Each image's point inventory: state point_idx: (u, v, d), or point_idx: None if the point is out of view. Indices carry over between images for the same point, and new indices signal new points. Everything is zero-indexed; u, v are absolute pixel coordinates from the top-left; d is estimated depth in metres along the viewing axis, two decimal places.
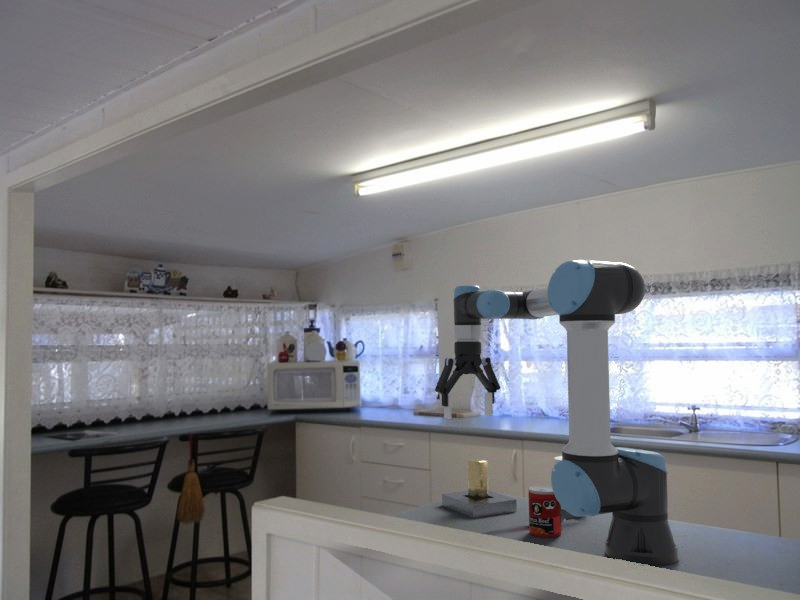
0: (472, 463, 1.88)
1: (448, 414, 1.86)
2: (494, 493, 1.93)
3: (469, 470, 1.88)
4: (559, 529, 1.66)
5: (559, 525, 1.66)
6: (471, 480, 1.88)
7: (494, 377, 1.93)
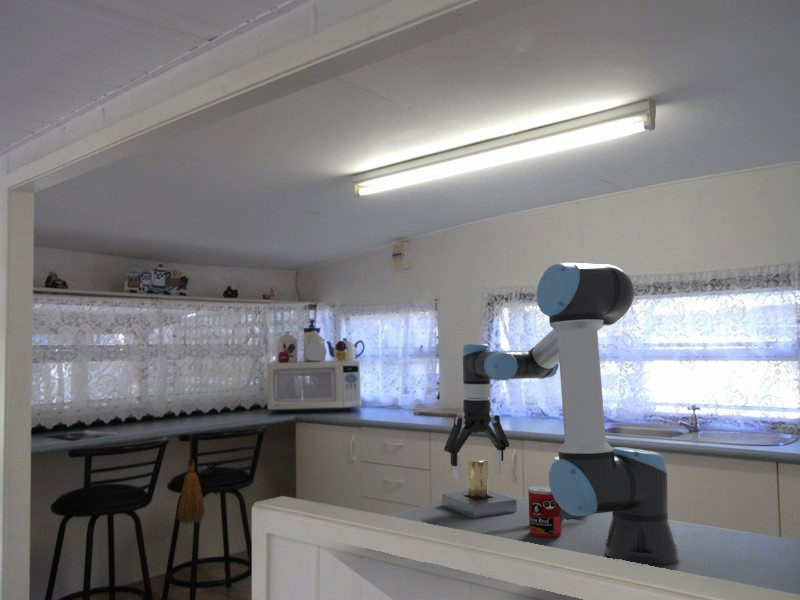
0: (472, 463, 1.88)
1: (457, 474, 1.86)
2: (494, 493, 1.93)
3: (469, 470, 1.88)
4: (559, 529, 1.66)
5: (559, 525, 1.66)
6: (471, 480, 1.88)
7: (503, 434, 1.93)
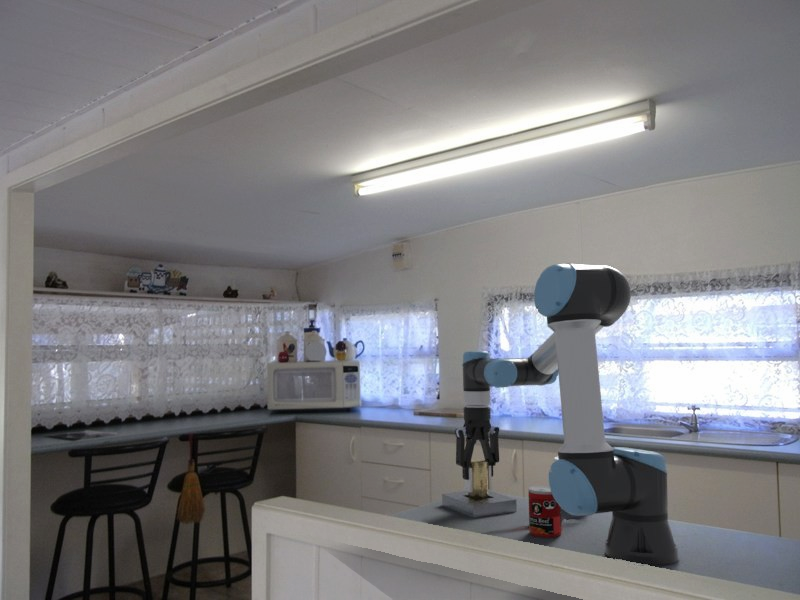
0: (472, 463, 1.88)
1: (469, 487, 1.87)
2: (494, 493, 1.93)
3: None
4: (559, 529, 1.66)
5: (559, 525, 1.66)
6: None
7: (497, 448, 1.92)
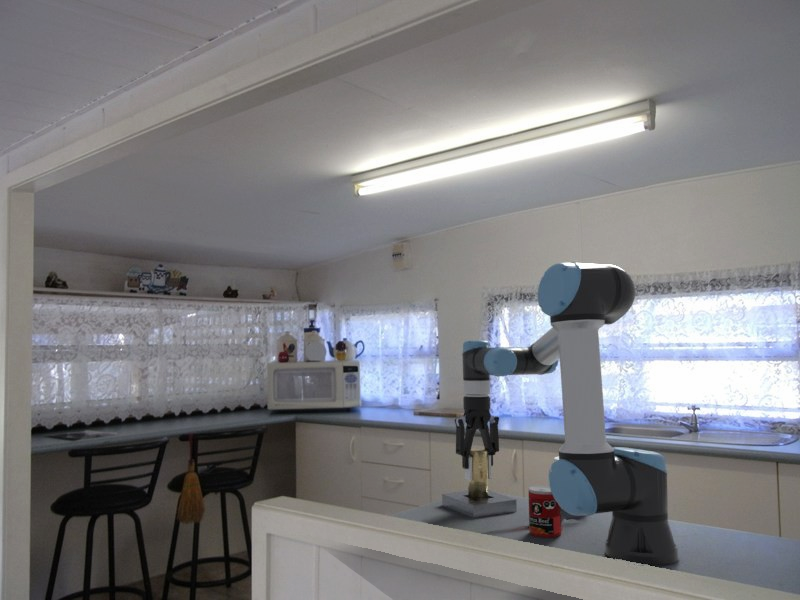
0: (472, 452, 1.88)
1: (469, 476, 1.87)
2: (494, 493, 1.93)
3: None
4: (559, 529, 1.66)
5: (559, 525, 1.66)
6: None
7: (496, 438, 1.92)
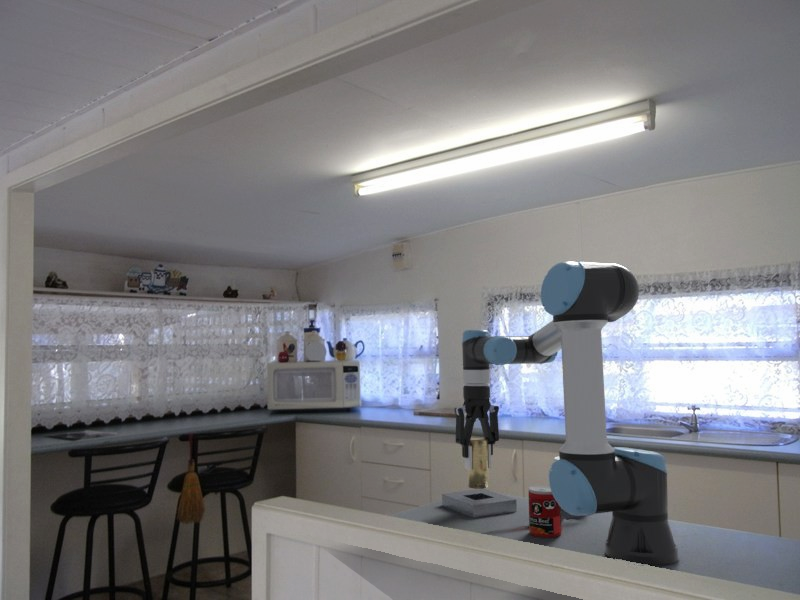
0: (472, 441, 1.88)
1: (469, 465, 1.87)
2: (494, 493, 1.93)
3: None
4: (559, 529, 1.66)
5: (559, 525, 1.66)
6: None
7: (496, 427, 1.92)
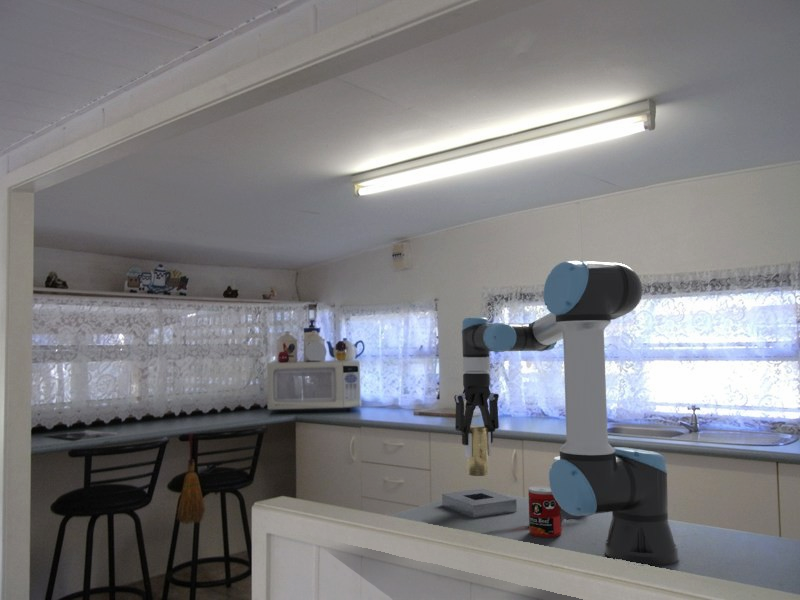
0: (471, 429, 1.88)
1: (468, 453, 1.87)
2: (494, 493, 1.93)
3: None
4: (559, 529, 1.66)
5: (559, 525, 1.66)
6: None
7: (496, 415, 1.92)
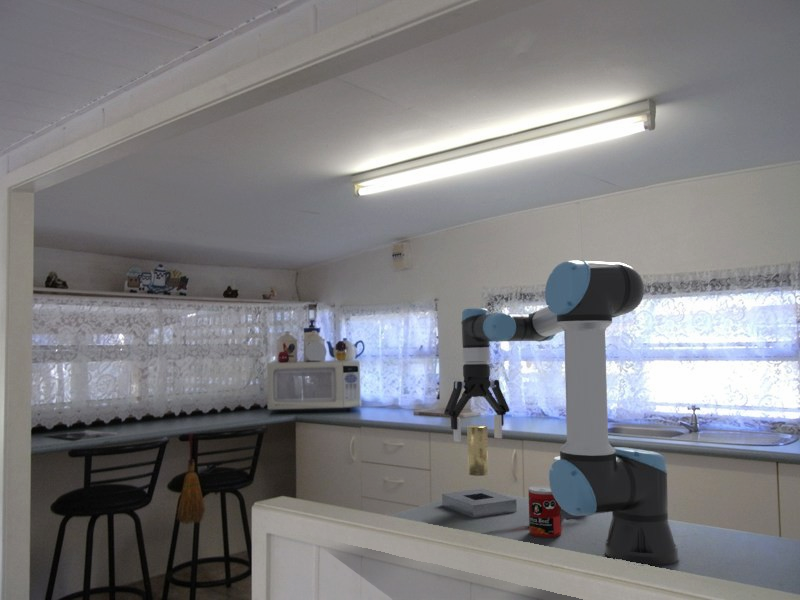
0: (471, 428, 1.88)
1: (458, 437, 1.86)
2: (494, 493, 1.93)
3: (468, 436, 1.89)
4: (559, 529, 1.66)
5: (559, 525, 1.66)
6: (470, 445, 1.88)
7: (503, 399, 1.93)
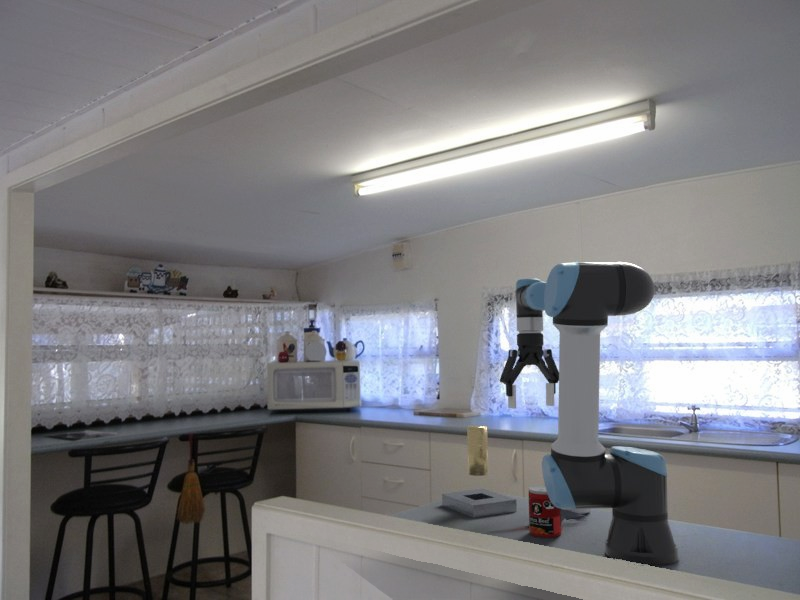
0: (471, 428, 1.88)
1: (513, 404, 1.90)
2: (494, 493, 1.93)
3: (468, 436, 1.89)
4: (559, 529, 1.66)
5: (559, 525, 1.66)
6: (470, 445, 1.88)
7: (555, 368, 1.98)
